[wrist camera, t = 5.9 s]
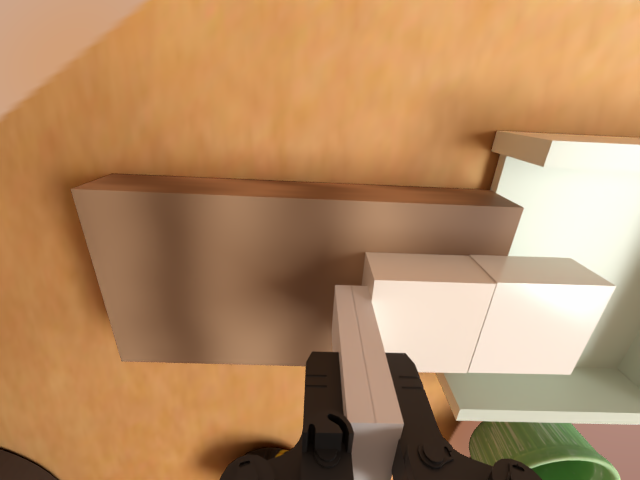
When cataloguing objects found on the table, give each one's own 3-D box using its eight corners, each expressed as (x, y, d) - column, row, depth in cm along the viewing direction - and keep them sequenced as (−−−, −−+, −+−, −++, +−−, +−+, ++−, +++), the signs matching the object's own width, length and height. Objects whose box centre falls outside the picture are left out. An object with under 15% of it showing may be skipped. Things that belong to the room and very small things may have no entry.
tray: (433, 367, 22) (456, 420, 18) (496, 130, 15) (552, 140, 12) (617, 372, 22) (675, 425, 19) (757, 143, 16) (889, 156, 12)
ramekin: (557, 465, 27) (598, 528, 23) (455, 470, 27) (478, 533, 23) (587, 394, 24) (642, 455, 20) (468, 401, 24) (499, 462, 20)
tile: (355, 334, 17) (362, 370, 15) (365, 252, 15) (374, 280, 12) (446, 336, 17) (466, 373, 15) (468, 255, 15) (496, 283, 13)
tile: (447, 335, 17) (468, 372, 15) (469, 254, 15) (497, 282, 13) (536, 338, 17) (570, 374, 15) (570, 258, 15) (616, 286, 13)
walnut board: (147, 325, 20) (121, 361, 18) (112, 173, 16) (70, 188, 13) (449, 334, 21) (469, 370, 18) (490, 189, 17) (524, 207, 14)
